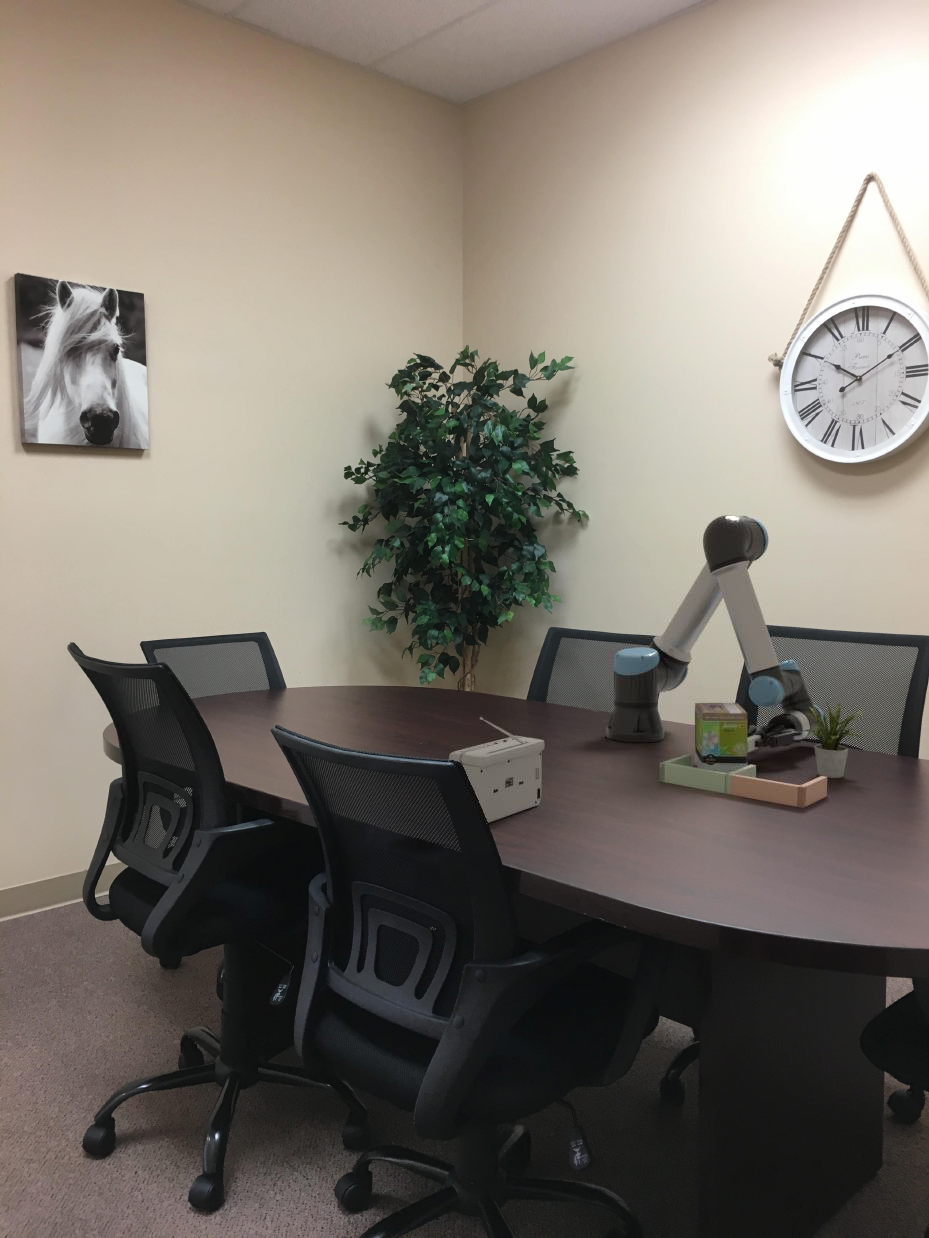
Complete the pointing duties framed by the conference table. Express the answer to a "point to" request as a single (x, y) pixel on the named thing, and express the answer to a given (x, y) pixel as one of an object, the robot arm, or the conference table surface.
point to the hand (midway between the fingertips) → (745, 746)
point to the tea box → (720, 736)
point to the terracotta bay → (779, 790)
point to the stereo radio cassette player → (504, 773)
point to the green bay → (699, 775)
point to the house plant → (831, 743)
